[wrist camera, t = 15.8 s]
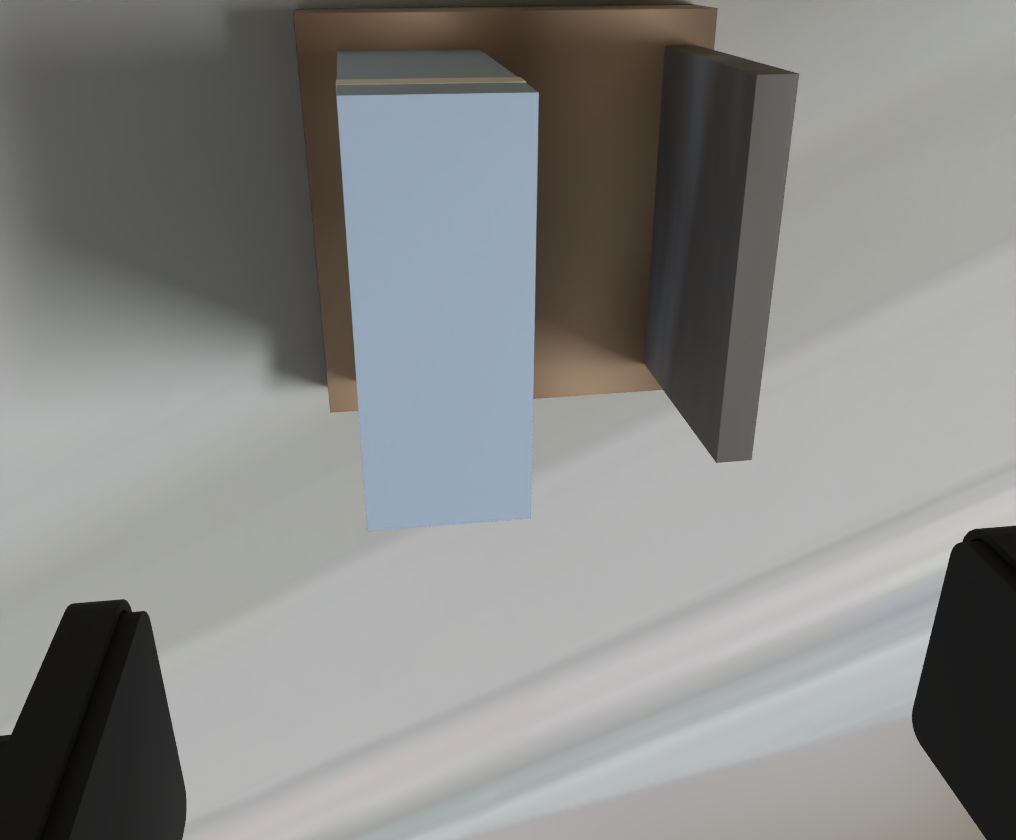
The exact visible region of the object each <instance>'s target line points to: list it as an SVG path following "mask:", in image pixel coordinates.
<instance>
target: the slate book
mask: <svg viewBox="0 0 1016 840" xmlns="http://www.w3.org/2000/svg"><path fill="white" fill-rule="evenodd" d="M336 96H337V110H338V124H339V139H340V153H341V167H342V182H343V196H344V210H345V225H346V239H347V253H348V268H349V282H350V296H351V311H352V325H353V339H354V354H355V368H356V382H357V397H358V411H359V425H360V440H361V454H362V468H363V483H364V497H365V510H366V525H367V531H379V530H392V529H404V528H417V527H430V526H442V525H455V524H467V523H480V522H493V521H505V520H518V519H530V518H531V496H532V440H533V385H534V330H535V274H536V219H537V164H538V109H539V92H538V91H536V90H535V89H533V88H532V87H531V86H529V85H528V84H527V83H526V81H525V80H523V79H522V78H521V77H517V76H516V75H514V74H513V73H512V72H510V71H509V70H507V69H506V68H505V67H503V66H502V65H501V64H499V63H498V62H496V61H495V60H494V59H492V58H491V57H490V56H488V55H487V54H486V53H484V52H483V51H481V50H408V51H337V80H336Z"/></svg>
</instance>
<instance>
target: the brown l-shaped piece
mask: <svg viewBox="0 0 1016 840" xmlns="http://www.w3.org/2000/svg"><path fill="white" fill-rule="evenodd" d="M293 15H294V26H295V37H296V48H297V59H298V69H299V80H300V91H301V102H302V112H303V123H304V134H305V145H306V156H307V166H308V177H309V188H310V199H311V210H312V220H313V231H314V242H315V253H316V263H317V274H318V285H319V296H320V307H321V317H322V328H323V339H324V350H325V360H326V371H327V382H328V393H329V404H330V413H331V412H346V411H358V397H357V382H356V368H355V354H354V339H353V325H352V311H351V296H350V282H349V268H348V253H347V239H346V225H345V210H344V196H343V182H342V167H341V153H340V139H339V124H338V110H337V96H336V80H337V51H408V50H481V51H483V52H484V53H486V54H487V55H488V56H490V57H491V58H492V59H494V60H495V61H496V62H498V63H499V64H501V65H502V66H503V67H505V68H506V69H507V70H509V71H510V72H512V73H513V74H514V75H516V76H517V77H521V78H522V79H523V80H525V81H526V83H527V84H528V85H529V86H531V87H532V88H533V89H535V90H536V91H538V92H539V109H538V164H537V219H536V274H535V330H534V385H533V399H535V398H550V397H565V396H579V395H594V394H608V393H623V392H637V391H652V390H664V392H665V393H666V394H667V396H668V397H669V399H670V400H671V401H672V403H673V404H674V405H675V407H676V408H677V409H678V411H679V412H680V414H681V415H682V416H683V418H684V419H685V420H686V422H687V423H688V425H689V426H690V427H691V429H692V430H693V431H694V433H695V434H696V435H697V437H698V438H699V440H700V441H701V442H702V444H703V445H704V446H705V448H706V449H707V451H708V452H709V453H710V455H711V456H712V457H713V459H714V460H715V461H716V463H719V462H731V461H744V460H752V451H753V443H754V435H755V427H756V419H757V411H758V403H759V394H760V386H761V378H762V370H763V362H764V354H765V346H766V338H767V329H768V321H769V313H770V305H771V297H772V289H773V281H774V273H775V264H776V256H777V248H778V240H779V232H780V224H781V216H782V208H783V199H784V191H785V183H786V175H787V167H788V159H789V151H790V143H791V134H792V126H793V118H794V110H795V102H796V94H797V86H798V78H799V74H798V73H794V72H791V71H787V70H783V69H780V68H776V67H773V66H769V65H765V64H762V63H758V62H755V61H751V60H747V59H744V58H740V57H736V56H733V55H729V54H726V53H722V52H718V51H715V50H714V42H715V30H716V19H717V8H712V7H706V6H699V5H628V6H543V7H458V8H373V9H296V10H295V12H294V13H293Z"/></svg>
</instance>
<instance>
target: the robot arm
mask: <svg viewBox="0 0 1016 840" xmlns="http://www.w3.org/2000/svg"><path fill="white" fill-rule="evenodd" d="M912 723H913V728H914V732H915V735H916V737H917V739H918V741H919V743H920V745H921V746H922V748H923V749H924V750H925V752H926V753H927V755H928V756H929V757H930V759H931V761H932V762H933V763H934V765H935V766H936V767H937V769H938V770H939V772H940V773H941V775H942V776H943V778H944V779H945V780H946V782H947V783H948V785H949V786H950V788H951V789H952V790H953V792H954V793H955V795H956V796H957V798H958V799H959V801H960V802H961V803H962V805H963V806H964V808H965V809H966V811H967V812H968V814H969V815H970V816H971V818H972V819H973V821H974V822H975V823H976V825H977V826H978V828H979V829H980V831H981V832H982V834H983V835H984V836H985V838H986V839H987V840H1016V526H1007V527H995V528H982V529H974V530H972V531H969V532H968V533H967V534H966V536H965V537H964V539H963V542H961V543H958V544H956V545H955V546H954V547H953V549H952V552H951V554H950V558H949V563H948V567H947V571H946V575H945V579H944V583H943V587H942V591H941V595H940V599H939V604H938V608H937V612H936V616H935V620H934V624H933V628H932V632H931V636H930V640H929V645H928V649H927V653H926V657H925V661H924V665H923V669H922V673H921V677H920V681H919V686H918V690H917V694H916V698H915V702H914V706H913V711H912ZM185 821H186V791H185V785H184V780H183V775H182V771H181V766H180V761H179V756H178V751H177V746H176V742H175V737H174V732H173V727H172V722H171V718H170V713H169V708H168V703H167V698H166V694H165V689H164V684H163V679H162V674H161V670H160V665H159V660H158V655H157V650H156V646H155V641H154V636H153V631H152V626H151V622H150V618H149V616H148V614H147V612H145V611H140V612H132V611H131V607H130V605H129V603H128V602H127V601H126V600H124V599H122V600H110V601H98V602H86V603H74V604H71V605H69V606H68V607H67V609H66V610H65V612H64V615H63V617H62V619H61V621H60V624H59V626H58V628H57V631H56V633H55V635H54V638H53V640H52V642H51V644H50V647H49V649H48V651H47V654H46V656H45V658H44V661H43V663H42V665H41V667H40V670H39V672H38V674H37V677H36V679H35V681H34V684H33V686H32V688H31V691H30V693H29V695H28V697H27V700H26V702H25V704H24V707H23V709H22V711H21V714H20V716H19V718H18V720H17V723H16V725H15V727H14V730H13V732H12V734H11V735H4V736H0V840H182V838H183V833H184V827H185Z"/></svg>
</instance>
